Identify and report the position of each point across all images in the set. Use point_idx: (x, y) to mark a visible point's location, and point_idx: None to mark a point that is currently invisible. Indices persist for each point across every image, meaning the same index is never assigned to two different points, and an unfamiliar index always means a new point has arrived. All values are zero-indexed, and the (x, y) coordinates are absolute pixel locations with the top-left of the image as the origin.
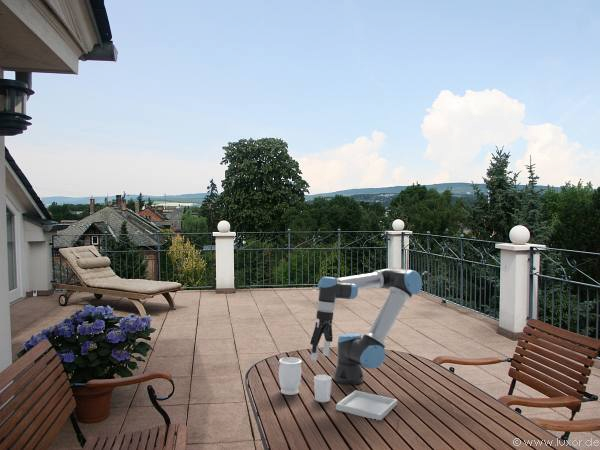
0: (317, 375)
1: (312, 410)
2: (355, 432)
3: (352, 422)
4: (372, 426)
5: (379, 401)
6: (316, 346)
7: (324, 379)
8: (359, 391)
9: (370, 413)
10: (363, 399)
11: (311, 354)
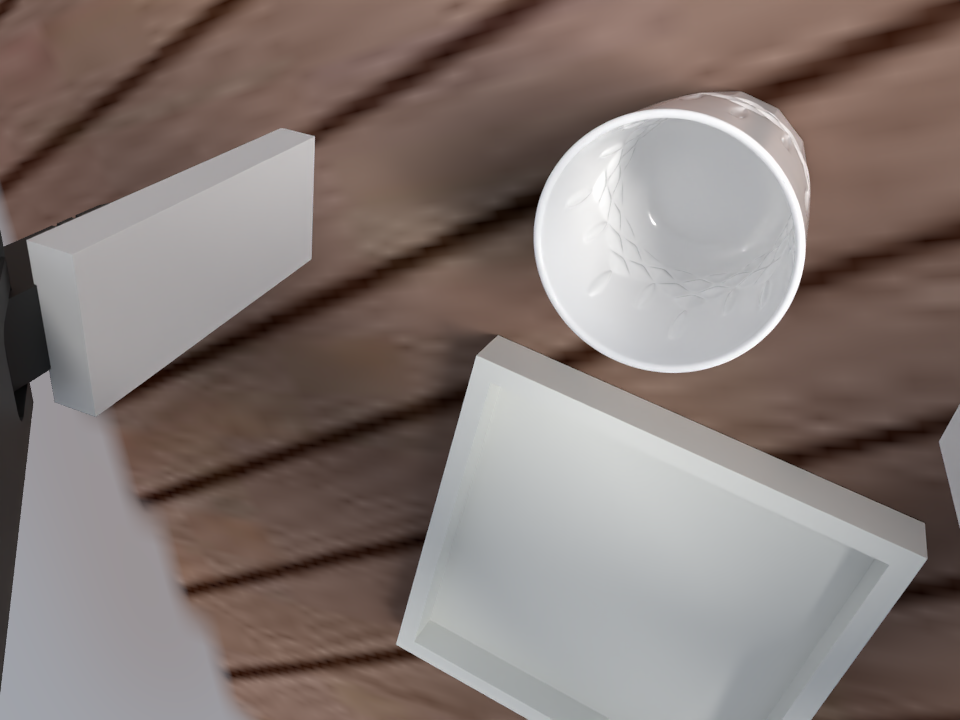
0: (748, 147)
1: (416, 127)
2: (221, 454)
3: (333, 447)
4: (330, 557)
5: (757, 697)
6: (60, 355)
7: (794, 243)
8: (885, 589)
9: (412, 588)
10: (775, 582)
11: (212, 164)
